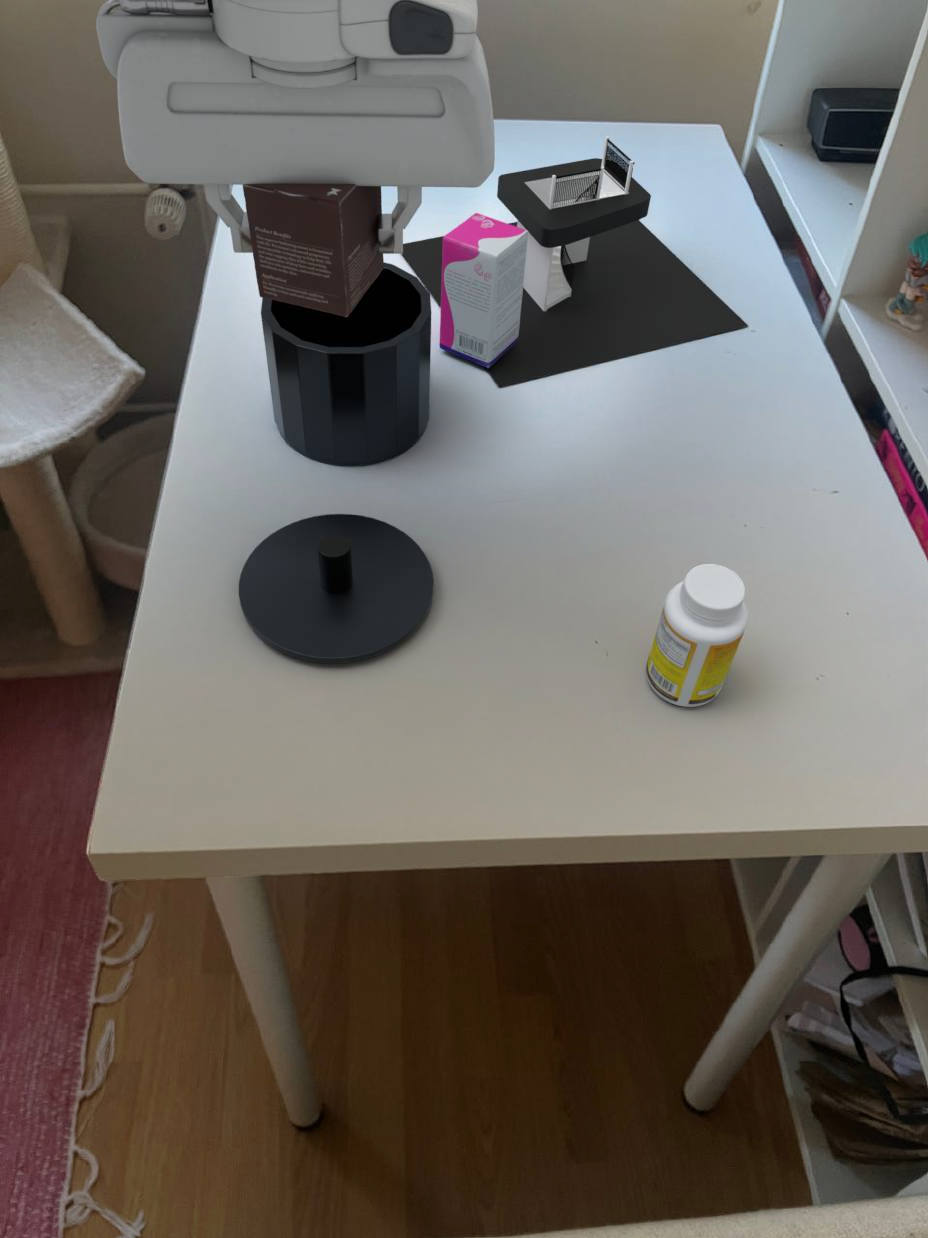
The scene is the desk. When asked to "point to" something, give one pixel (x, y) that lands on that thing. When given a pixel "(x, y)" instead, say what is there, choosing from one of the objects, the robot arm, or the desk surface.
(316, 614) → the bin lid
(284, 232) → the box
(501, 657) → the desk surface
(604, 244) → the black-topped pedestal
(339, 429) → the trash can
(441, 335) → the supplement box
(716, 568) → the supplement bottle
